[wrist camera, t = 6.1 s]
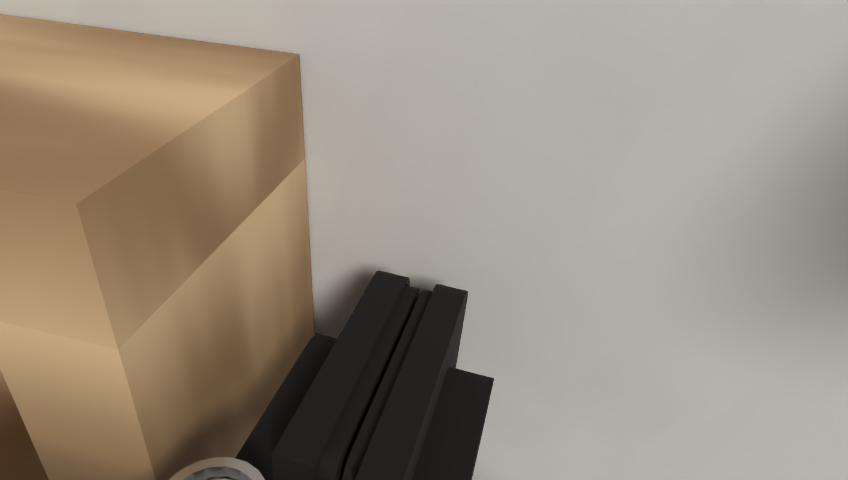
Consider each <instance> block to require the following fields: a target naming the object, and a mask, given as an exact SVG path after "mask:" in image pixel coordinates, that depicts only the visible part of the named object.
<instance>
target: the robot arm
mask: <svg viewBox="0 0 848 480" xmlns="http://www.w3.org/2000/svg"><path fill="white" fill-rule="evenodd" d="M467 296H468V291H465V290H460V289H456V288H452V287H447V286H443V285H439V284H437V285H436V286H435V288H434V290H433V292H431V291H427V290H422V291H421V293H420V295H419V289H418V288H414V287H410V281H409V278H408V277H404V276H399V275H395V274H391V273H387V272H382V271H377V272H376V273H375V275H374V276H373V278H372V280H371V282H370V283H369V285H368V287H367V289H366V290H365V292H364V294H363V296H362V297H361V299H360V301H359V303H358V304H357V306H356V308H355V310H354V311H353V313H352V315H351V317H350V318H349V320H348V322H347V324H346V325H345V327H344V329H343V330H342V332H341V334H340V336H339V337H338V339H336V338H332V337H328V336H324V335H320V334H316V335H314V336H313V337H312V338H311V339H310V341H309V342H308V343H307V345H306V346H305V348H304V350H303V351H302V353H301V354H300V356H299V358H298V359H297V361H296V362H295V364H294V365H293V367H292V369H291V370H290V372H289V373H288V375H287V377H286V378H285V380H284V381H283V383H282V384H281V386H280V388H279V389H278V391H277V392H276V394H275V396H274V397H273V399H272V400H271V402H270V404H269V405H268V407H267V408H266V410H265V411H264V413H263V415H262V416H261V418H260V419H259V421H258V423H257V424H256V426H255V427H254V429H253V430H252V432H251V434H250V435H249V437H248V438H247V440H246V442H245V443H244V445H243V446H242V448H241V450H240V451H239V453H238V454H237V456H236V457H235V458H232V457H213V458H209V459H205V460H201V461H197V462H195V463H193V464H191V465H189V466H187V467H185V468H183V469H181V470H180V471H178V472H177V473H176V474H175V475H174V476H173V477H171V478H170V479H169V480H472V476H473V471H474V467H475V463H476V458H477V454H478V449H479V445H480V440H481V436H482V431H483V427H484V422H485V418H486V413H487V409H488V404H489V399H490V395H491V390H492V386H493V381H494V378H490V377H486V376H482V375H478V374H475V373H471V372H467V371H463V370H459V369H456V363H457V357H458V351H459V345H460V339H461V333H462V327H463V321H464V315H465V309H466V303H467Z"/></svg>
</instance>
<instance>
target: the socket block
mask: <svg viewBox="0 0 848 480" xmlns="http://www.w3.org/2000/svg"><path fill="white" fill-rule="evenodd" d="M314 335H315V329H314V311H313V293H312V275H311V257H310V239H309V221H308V202H307V184H306V166H305V148H304V130H303V112H302V94H301V76H300V58H299V54H293V53H285V52H278V51H270V50H263V49H255V48H248V47H240V46H233V45H225V44H218V43H210V42H203V41H196V40H188V39H181V38H173V37H166V36H158V35H151V34H143V33H136V32H128V31H121V30H114V29H106V28H99V27H91V26H84V25H76V24H69V23H61V22H54V21H46V20H39V19H31V18H24V17H17V16H9V15H2V14H0V480H169V479H170V478H171V477H173V476H174V475H175V474H176V473H177V472H178V471H180V470H181V469H183V468H185V467H187V466H189V465H191V464H193V463H195V462H197V461H201V460H205V459H209V458H213V457H232V458H235V457H236V456H237V454H238V453H239V451H240V450H241V448H242V446H243V445H244V443H245V442H246V440H247V438H248V437H249V435H250V434H251V432H252V430H253V429H254V427H255V426H256V424H257V423H258V421H259V419H260V418H261V416H262V415H263V413H264V411H265V410H266V408H267V407H268V405H269V404H270V402H271V400H272V399H273V397H274V396H275V394H276V392H277V391H278V389H279V388H280V386H281V384H282V383H283V381H284V380H285V378H286V377H287V375H288V373H289V372H290V370H291V369H292V367H293V365H294V364H295V362H296V361H297V359H298V358H299V356H300V354H301V353H302V351H303V350H304V348H305V346H306V345H307V343H308V342H309V341H310V339H311V338H312V337H313V336H314Z"/></svg>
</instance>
